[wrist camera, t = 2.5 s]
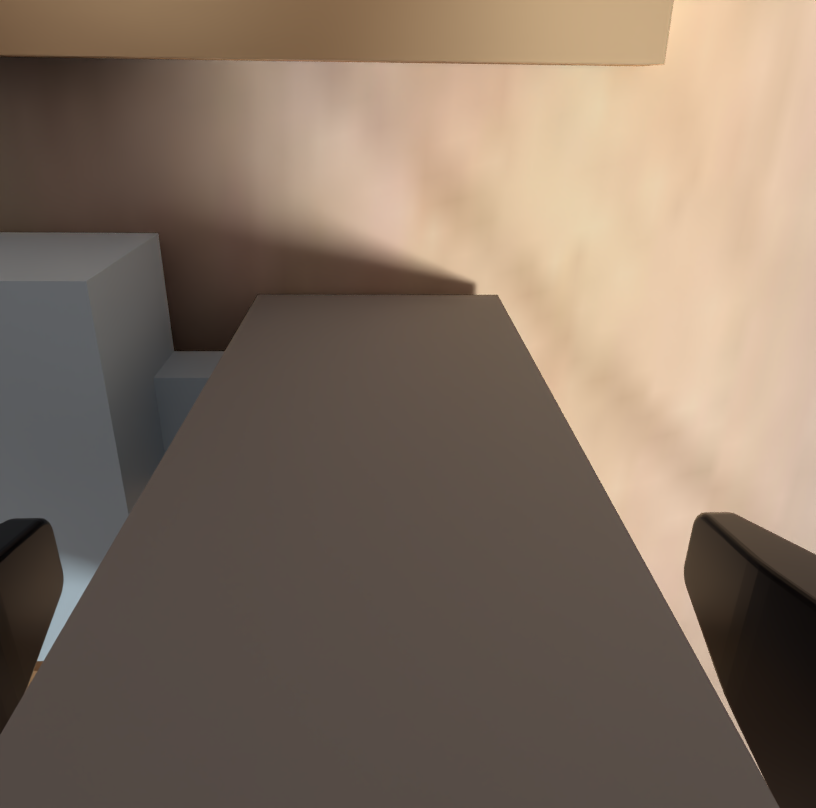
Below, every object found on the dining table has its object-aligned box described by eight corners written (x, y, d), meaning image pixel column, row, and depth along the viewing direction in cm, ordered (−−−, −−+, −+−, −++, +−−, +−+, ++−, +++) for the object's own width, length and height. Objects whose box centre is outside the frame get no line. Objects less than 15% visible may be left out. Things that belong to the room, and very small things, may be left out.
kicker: (501, 234, 11) (851, 676, 3) (480, 541, 14) (637, 1256, 5) (-35, 231, 11) (-1385, 714, 3) (43, 546, 14) (-518, 1312, 5)
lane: (652, -26, 10) (678, -37, 9) (558, 668, 16) (569, 704, 15) (-851, -55, 9) (-983, -70, 9) (-392, 685, 15) (-442, 724, 14)
